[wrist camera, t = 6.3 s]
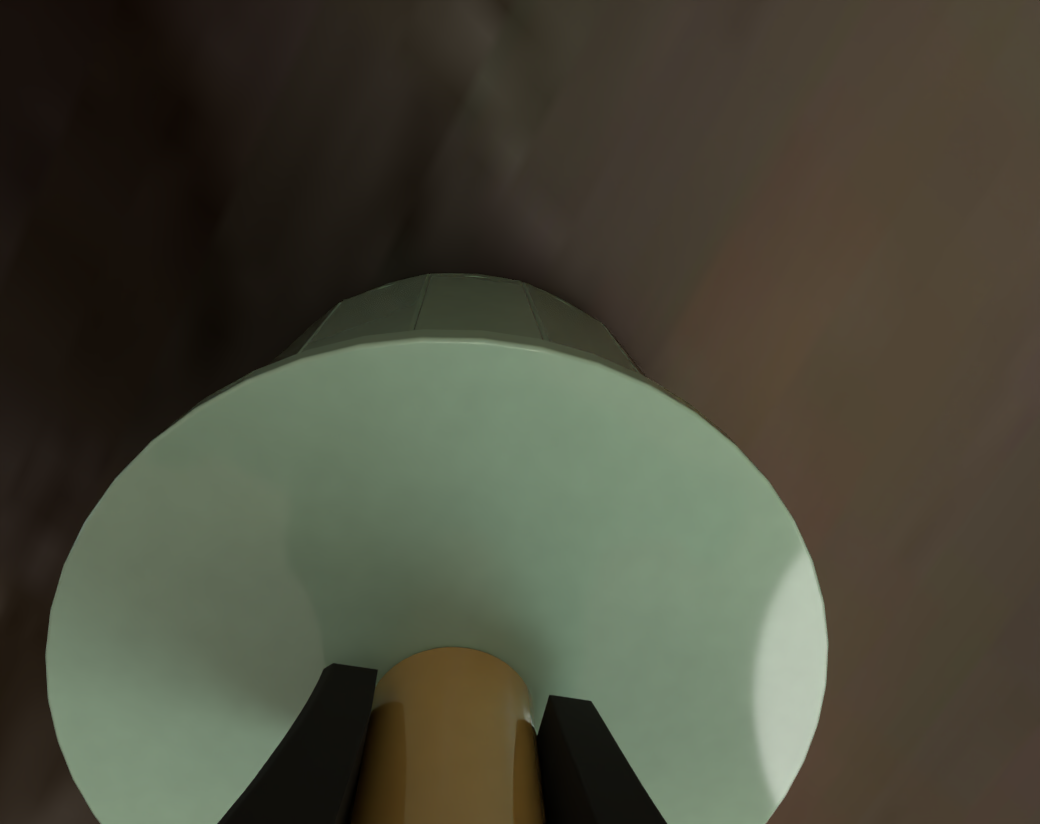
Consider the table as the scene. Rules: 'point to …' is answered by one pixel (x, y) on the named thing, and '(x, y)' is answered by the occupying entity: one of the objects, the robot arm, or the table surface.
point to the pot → (462, 314)
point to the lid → (438, 589)
